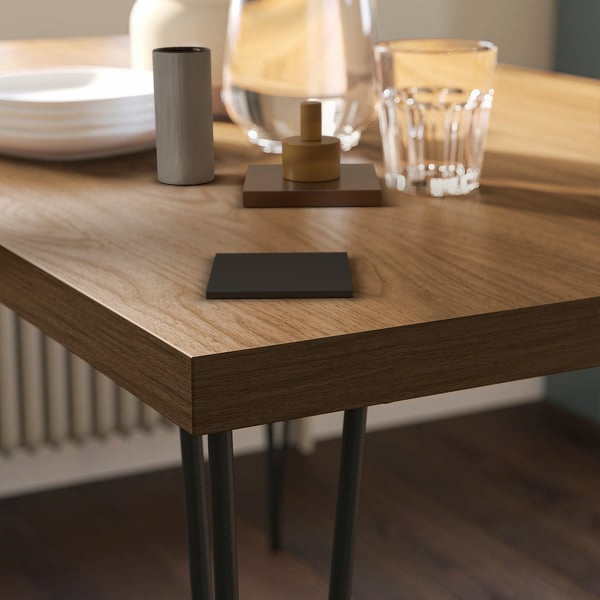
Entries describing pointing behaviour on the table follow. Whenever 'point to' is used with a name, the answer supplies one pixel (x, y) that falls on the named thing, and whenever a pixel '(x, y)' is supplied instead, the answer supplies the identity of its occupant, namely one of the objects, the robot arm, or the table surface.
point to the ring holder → (311, 172)
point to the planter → (183, 115)
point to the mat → (280, 275)
